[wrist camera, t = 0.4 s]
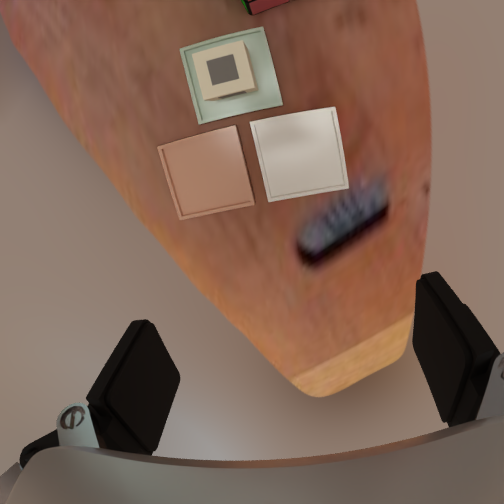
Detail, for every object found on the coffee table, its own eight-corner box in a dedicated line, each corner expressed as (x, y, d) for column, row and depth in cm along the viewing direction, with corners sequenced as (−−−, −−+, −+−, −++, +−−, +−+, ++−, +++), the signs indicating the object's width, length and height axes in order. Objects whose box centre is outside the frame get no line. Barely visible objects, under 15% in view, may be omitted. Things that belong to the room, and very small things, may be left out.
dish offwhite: (250, 121, 32) (249, 122, 32) (333, 106, 31) (335, 106, 30) (268, 199, 36) (268, 202, 35) (347, 186, 35) (349, 188, 34)
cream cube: (203, 60, 29) (191, 54, 25) (247, 49, 28) (242, 39, 24) (214, 101, 31) (203, 101, 27) (258, 91, 30) (255, 88, 26)
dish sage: (182, 50, 29) (179, 48, 28) (263, 28, 27) (262, 26, 26) (201, 124, 33) (198, 124, 32) (282, 105, 31) (283, 105, 30)
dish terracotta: (160, 145, 34) (157, 146, 33) (236, 124, 33) (235, 125, 32) (182, 217, 38) (179, 220, 37) (255, 202, 37) (254, 204, 36)
